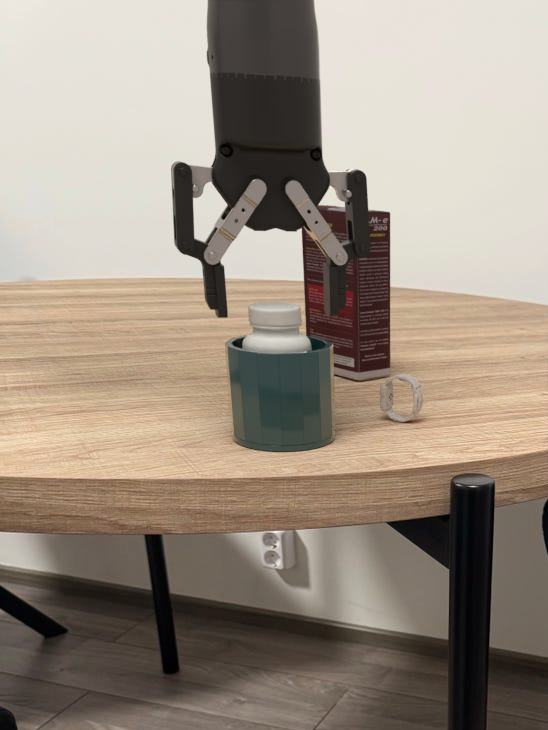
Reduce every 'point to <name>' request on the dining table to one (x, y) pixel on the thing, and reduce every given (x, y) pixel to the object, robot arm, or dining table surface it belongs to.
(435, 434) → the dining table surface
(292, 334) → the pill bottle
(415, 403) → the grey marbled ring
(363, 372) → the supplement box
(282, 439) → the cup
